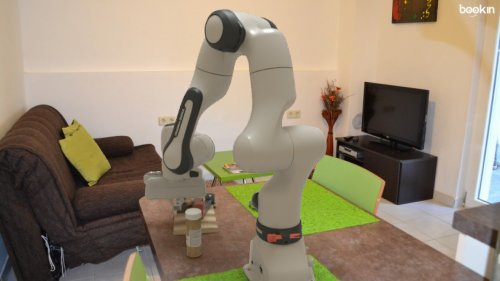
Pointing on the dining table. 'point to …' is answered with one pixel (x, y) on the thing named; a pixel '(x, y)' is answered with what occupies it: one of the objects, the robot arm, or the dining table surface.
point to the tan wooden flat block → (206, 223)
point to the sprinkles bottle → (193, 232)
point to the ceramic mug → (254, 200)
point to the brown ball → (188, 202)
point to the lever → (204, 203)
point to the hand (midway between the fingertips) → (176, 209)
